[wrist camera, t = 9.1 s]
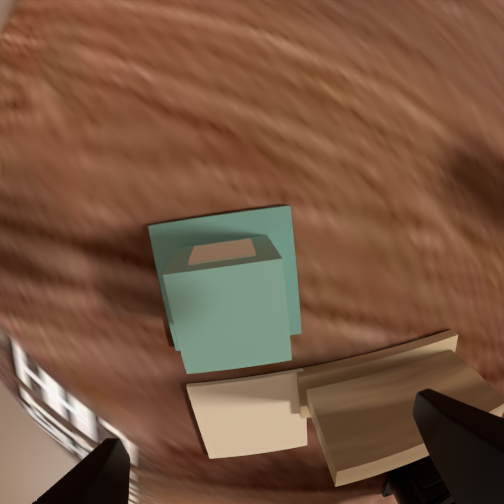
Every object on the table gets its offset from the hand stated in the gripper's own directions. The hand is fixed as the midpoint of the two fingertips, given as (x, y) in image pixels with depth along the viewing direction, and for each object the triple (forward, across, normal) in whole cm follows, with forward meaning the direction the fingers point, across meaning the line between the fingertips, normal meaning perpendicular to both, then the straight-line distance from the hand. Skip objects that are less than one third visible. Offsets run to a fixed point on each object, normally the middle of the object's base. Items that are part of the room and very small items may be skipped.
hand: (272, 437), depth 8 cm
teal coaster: (+12, +1, -1) cm, 12 cm away
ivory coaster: (+12, +1, +10) cm, 16 cm away
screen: (+12, -9, +8) cm, 17 cm away
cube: (+11, +1, -1) cm, 11 cm away
